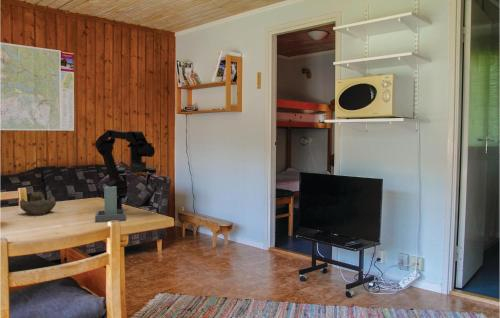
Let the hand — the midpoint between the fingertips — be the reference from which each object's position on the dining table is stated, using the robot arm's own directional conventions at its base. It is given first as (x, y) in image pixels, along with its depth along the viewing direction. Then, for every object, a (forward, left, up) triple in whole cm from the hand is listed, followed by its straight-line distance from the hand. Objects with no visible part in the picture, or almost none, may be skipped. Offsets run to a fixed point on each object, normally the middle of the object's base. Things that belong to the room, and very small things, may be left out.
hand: (136, 187), depth 212 cm
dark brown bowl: (-13, -47, -13) cm, 51 cm away
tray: (+10, -12, -13) cm, 20 cm away
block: (+10, -12, -12) cm, 20 cm away
